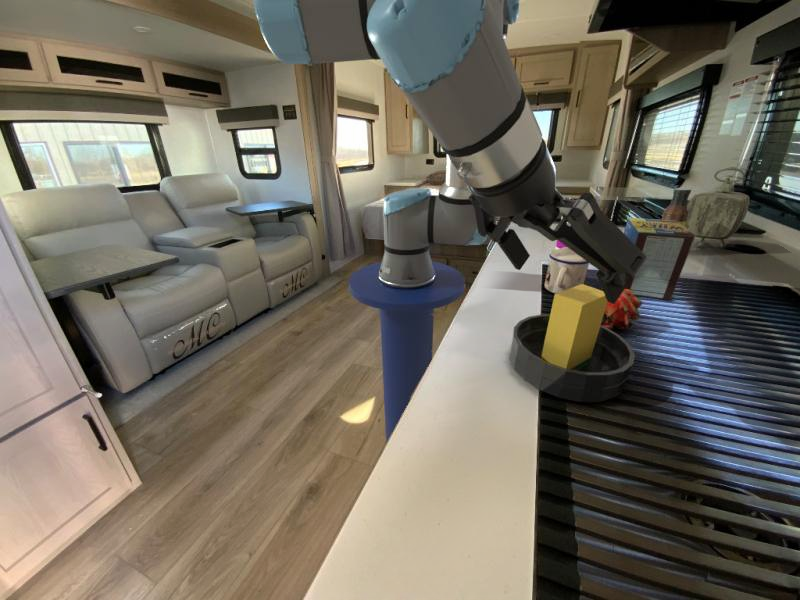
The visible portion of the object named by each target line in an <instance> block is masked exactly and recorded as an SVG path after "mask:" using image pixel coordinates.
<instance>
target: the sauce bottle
mask: <svg viewBox="0 0 800 600" xmlns="http://www.w3.org/2000/svg"><path fill="white" fill-rule="evenodd" d="M691 192H692V189H691V188H684V187H678V188H677V187H675V188H674V190H673V192H672V193H673V195H672V199H671V201H670V204H669V205H668V206H666V207H665V209H664V211H663V213H662V217H661V219H660V220H675V221H677V222H678V223H679V224H681V225H682V226H684V227H685V223H686V220H687V215H688V210H687V204H688V199H689V196H690V195H691V194H692V193H691Z"/></svg>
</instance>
